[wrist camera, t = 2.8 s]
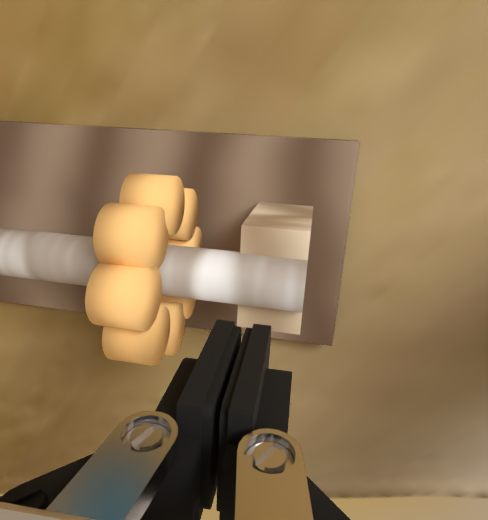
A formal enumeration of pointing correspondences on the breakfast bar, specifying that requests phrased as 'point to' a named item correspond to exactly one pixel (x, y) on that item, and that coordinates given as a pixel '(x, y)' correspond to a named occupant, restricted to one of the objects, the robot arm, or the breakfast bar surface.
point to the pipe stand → (209, 220)
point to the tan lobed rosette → (141, 268)
